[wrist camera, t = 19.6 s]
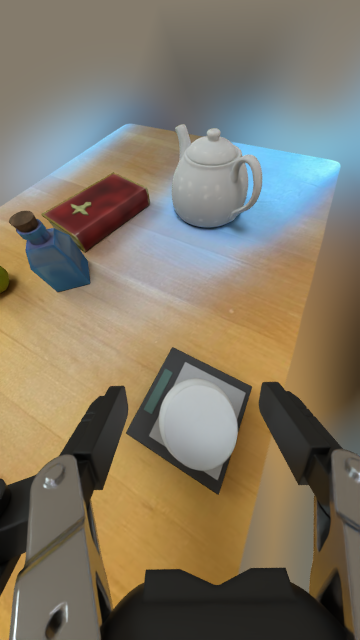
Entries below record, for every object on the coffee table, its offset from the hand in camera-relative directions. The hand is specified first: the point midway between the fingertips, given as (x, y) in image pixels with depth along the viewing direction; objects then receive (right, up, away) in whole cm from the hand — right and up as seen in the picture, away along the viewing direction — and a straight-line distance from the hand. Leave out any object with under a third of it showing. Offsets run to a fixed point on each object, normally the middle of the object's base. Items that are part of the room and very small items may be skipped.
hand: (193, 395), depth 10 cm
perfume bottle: (-22, +13, +24) cm, 36 cm away
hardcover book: (-20, +30, +32) cm, 48 cm away
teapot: (+6, +32, +32) cm, 46 cm away
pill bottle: (+1, -7, +11) cm, 13 cm away
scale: (+1, -8, +14) cm, 16 cm away
